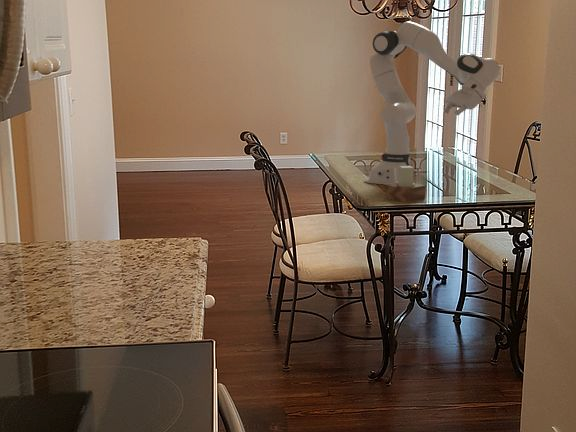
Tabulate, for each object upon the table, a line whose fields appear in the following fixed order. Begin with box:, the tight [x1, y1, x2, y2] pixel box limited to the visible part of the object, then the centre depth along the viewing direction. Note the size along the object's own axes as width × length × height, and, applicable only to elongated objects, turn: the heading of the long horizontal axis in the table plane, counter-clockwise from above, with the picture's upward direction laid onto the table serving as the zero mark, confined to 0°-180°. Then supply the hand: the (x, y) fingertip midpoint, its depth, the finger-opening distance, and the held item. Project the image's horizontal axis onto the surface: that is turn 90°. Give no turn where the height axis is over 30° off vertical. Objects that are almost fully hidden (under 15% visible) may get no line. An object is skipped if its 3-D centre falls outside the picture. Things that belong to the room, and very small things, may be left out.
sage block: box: [396, 165, 416, 187], centre depth 302 cm, size 6×6×8 cm
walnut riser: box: [384, 183, 426, 203], centre depth 304 cm, size 12×12×6 cm
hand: (450, 113), depth 307 cm, fingers open, 8 cm apart
